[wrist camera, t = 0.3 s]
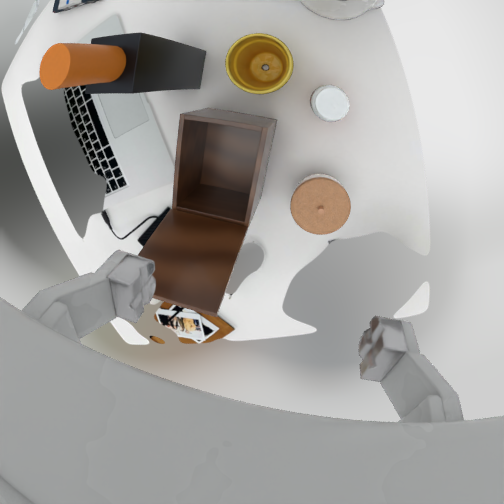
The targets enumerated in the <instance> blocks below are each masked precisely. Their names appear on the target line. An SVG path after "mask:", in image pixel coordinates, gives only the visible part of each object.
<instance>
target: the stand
mask: <svg viewBox="0 0 504 504" xmlns="http://www.w3.org/2000/svg"><path fill="white" fill-rule="evenodd" d="M91 44H98V45H111V46H118V47H120V48H121V49H122V50H123V51H124V53H125V55H126V65H125V68H124V71H123V73H122V74H121V75H120V76H119V77H118V78H117V79H116V80H114V81H112V82H106V83H96V84H87V85H86V92H85V94H98V93H141V92H151V91H163V90H180V89H200V84H201V78H202V72H203V66H204V60H205V55H206V51H204V50H201V49H198V48H195V47H192V46H189V45H186V44H182V43H179V42H175V41H172V40H168V39H165V38H161V37H157V36H153V35H149V34H145V33H131V34H122V35H114V36H106V37H100V38H94V39H92V40H91Z"/></svg>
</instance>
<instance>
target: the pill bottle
mask: <svg viewBox="0 0 504 504" xmlns="http://www.w3.org/2000/svg"><path fill="white" fill-rule="evenodd" d="M310 104H311V107H312V110H313V111H314V113H315V114H316V115H317V116H318V117H319V118H320V119H322V120H324V121H328V122H335V121H339V120H341V119H342V118H344V117H345V116H346V114H347V113H348V110H349V99H348V97H347V95H346V93H345V92H344V91H343V90H342V89H340V88H338V87H336V86H333V85H325V86H322V87H319V88H318V89H316V90H315V91H314V92H313V93H312V95H311V99H310Z"/></svg>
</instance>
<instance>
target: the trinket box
mask: <svg viewBox="0 0 504 504" xmlns="http://www.w3.org/2000/svg"><path fill="white" fill-rule="evenodd" d="M350 209H351V204H350V199H349V196H348V194H347V192H346V190H345V189H344V187H343V186H342V184H341V183H340V182H339V181H338V180H336V179H335V178H333V177H331V176H329V175H326V174H313V175H310V176H308V177H306V178H304V179H303V180H302V181H301V182H300V183H299V184H298V185H297V187H296V188H295V190H294V193H293V196H292V198H291V213H292V216H293V218H294V220H295V222H296V223H297V224H298V225H299V226H300V227H301V228H302V229H304V230H305V231H307V232H310V233H313V234H321V235H322V234H329V233H332V232H334V231H336V230H338V229H339V228H341V227H342V226H343V225H344V224H345V222H346V221H347V219H348V217H349V214H350Z"/></svg>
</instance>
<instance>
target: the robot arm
mask: <svg viewBox="0 0 504 504" xmlns="http://www.w3.org/2000/svg"><path fill="white" fill-rule="evenodd" d="M300 1H301V2H302V3H303V4H304V5H305V6H306V7H307V8H308V9H309V10H311V11H312V12H314V13H316V14H318V15H320V16H323V17H326V18H330V19H336V20H346V19H352V18H355V17H358V16H360V15H362V14H363V13H365V12H366V11H368V10H369V9H374V8H379V7H382V6H383V5H384V0H300ZM154 271H155V262H154V261H153V260H150V259H147V258H144V257H140V256H137V255H134V254H131V253H127V252H124V251H121V250H117V251H115V252H114V253H113V254H112V255H111V256H110V257H109V258H108V259H107V260H106V261H105V263H104V264H103V265H102V266H101V267H100V268H99V269H98V270H97V271H96V272H95V273H88V274H85V275H82V276H79V277H77V278H74V279H71V280H68V281H65V282H63V283H60V284H57V285H54V286H52V287H49V288H47V289H44V290H41V291H39V292H38V293H37V294H36V295H35V297H34V298H33V299H32V300H31V301H30V302H29V303H28V304H27V305H26V306H25V307H24V308H23V310H22V311H21V310H19V309H18V308H16V307H14V306H13V305H11V304H10V303H8V302H7V301H5V300H4V299H2V298H1V297H0V504H504V416H498V417H491V418H484V419H475V420H464V419H463V414H462V410H461V405H460V401H459V397H458V394H457V393H456V392H455V391H454V390H453V388H452V387H451V386H450V385H449V383H448V382H447V381H446V380H445V379H444V378H443V376H442V375H441V374H440V373H439V372H438V371H437V369H436V368H435V367H434V366H433V365H432V364H431V363H430V361H429V360H428V359H427V358H426V357H425V356H424V355H422V354H420V350H419V347H418V343H417V340H416V336H415V333H414V329H413V326H412V324H411V322H408V321H403V320H395V319H390V318H385V317H380V316H375V317H373V318H372V320H371V321H370V328H369V329H367V330H366V331H364V333H363V335H362V336H361V339H360V342H359V349H358V350H359V356H360V357H361V358H362V360H363V361H362V362H361V363H360V375H361V379H366V380H371V381H378V382H380V384H381V385H382V387H383V389H384V390H385V392H386V394H387V395H388V397H389V399H390V401H391V402H392V404H393V406H394V407H395V409H396V411H397V413H398V415H399V416H400V418H401V420H400V421H399V422H376V421H362V420H350V419H340V418H331V417H323V416H316V415H309V414H302V413H295V412H290V411H285V410H279V409H273V408H269V407H264V406H259V405H255V404H250V403H246V402H242V401H238V400H234V399H230V398H226V397H222V396H219V395H215V394H211V393H208V392H204V391H201V390H198V389H194V388H191V387H188V386H185V385H182V384H179V383H176V382H172V381H170V380H167V379H164V378H161V377H158V376H156V375H153V374H150V373H147V372H145V371H142V370H140V369H137V368H135V367H132V366H130V365H127V364H125V363H122V362H120V361H117V360H115V359H113V358H111V357H108V356H106V355H104V354H102V353H99V352H97V351H95V350H92V349H91V348H89V347H86V346H84V345H82V344H81V342H80V338H82V337H84V336H85V335H87V334H89V333H90V332H92V331H94V330H96V329H97V328H99V327H101V326H103V325H104V324H106V323H108V322H110V321H111V320H113V319H115V318H116V316H117V317H120V318H122V319H125V320H129V321H131V322H134V323H137V321H138V319H139V318H140V316H141V315H142V313H143V312H144V307H143V305H146V304H148V303H150V301H151V299H152V298H153V295H154V292H155V287H156V279H155V278H154V276H153V275H152V274H153V272H154Z"/></svg>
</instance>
